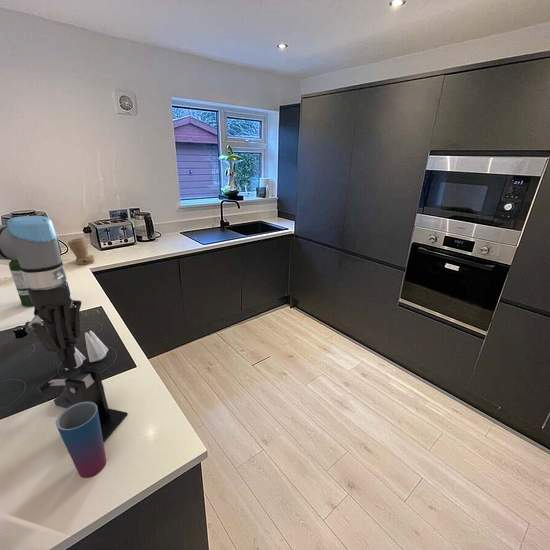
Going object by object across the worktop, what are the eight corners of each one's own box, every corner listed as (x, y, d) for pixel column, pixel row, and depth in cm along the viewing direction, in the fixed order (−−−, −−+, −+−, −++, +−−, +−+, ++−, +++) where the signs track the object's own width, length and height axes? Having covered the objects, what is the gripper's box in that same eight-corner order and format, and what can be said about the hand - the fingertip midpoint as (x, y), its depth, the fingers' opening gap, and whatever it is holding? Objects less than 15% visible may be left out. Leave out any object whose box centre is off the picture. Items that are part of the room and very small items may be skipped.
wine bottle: (21, 308, 124) (-2, 241, 113) (23, 301, 130) (1, 237, 119) (43, 304, 128) (23, 239, 117) (45, 297, 134) (26, 235, 123)
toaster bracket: (61, 437, 68) (43, 384, 62) (91, 407, 76) (78, 358, 70) (101, 447, 66) (86, 393, 60) (128, 415, 74) (117, 366, 68)
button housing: (55, 406, 76) (51, 394, 75) (80, 385, 84) (77, 374, 82) (80, 412, 75) (77, 400, 73) (104, 390, 82) (101, 379, 80)
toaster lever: (39, 394, 67) (34, 386, 67) (58, 379, 72) (54, 372, 71) (81, 393, 64) (76, 384, 63) (99, 377, 68) (94, 369, 67)
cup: (85, 453, 64) (69, 401, 59) (116, 451, 65) (103, 400, 59) (66, 484, 58) (47, 430, 53) (101, 483, 59) (86, 429, 53)
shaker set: (109, 353, 97) (102, 325, 93) (109, 360, 94) (102, 331, 90) (66, 364, 92) (57, 334, 88) (65, 372, 88) (55, 341, 84)
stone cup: (73, 259, 185) (67, 237, 179) (94, 257, 190) (90, 235, 185) (71, 267, 172) (65, 242, 167) (94, 264, 178) (89, 240, 172)
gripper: (33, 298, 60) (59, 387, 69) (84, 276, 72) (101, 354, 80) (4, 293, 61) (34, 381, 70) (59, 272, 73) (79, 349, 82)
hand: (70, 366), depth 75 cm, fingers closed
